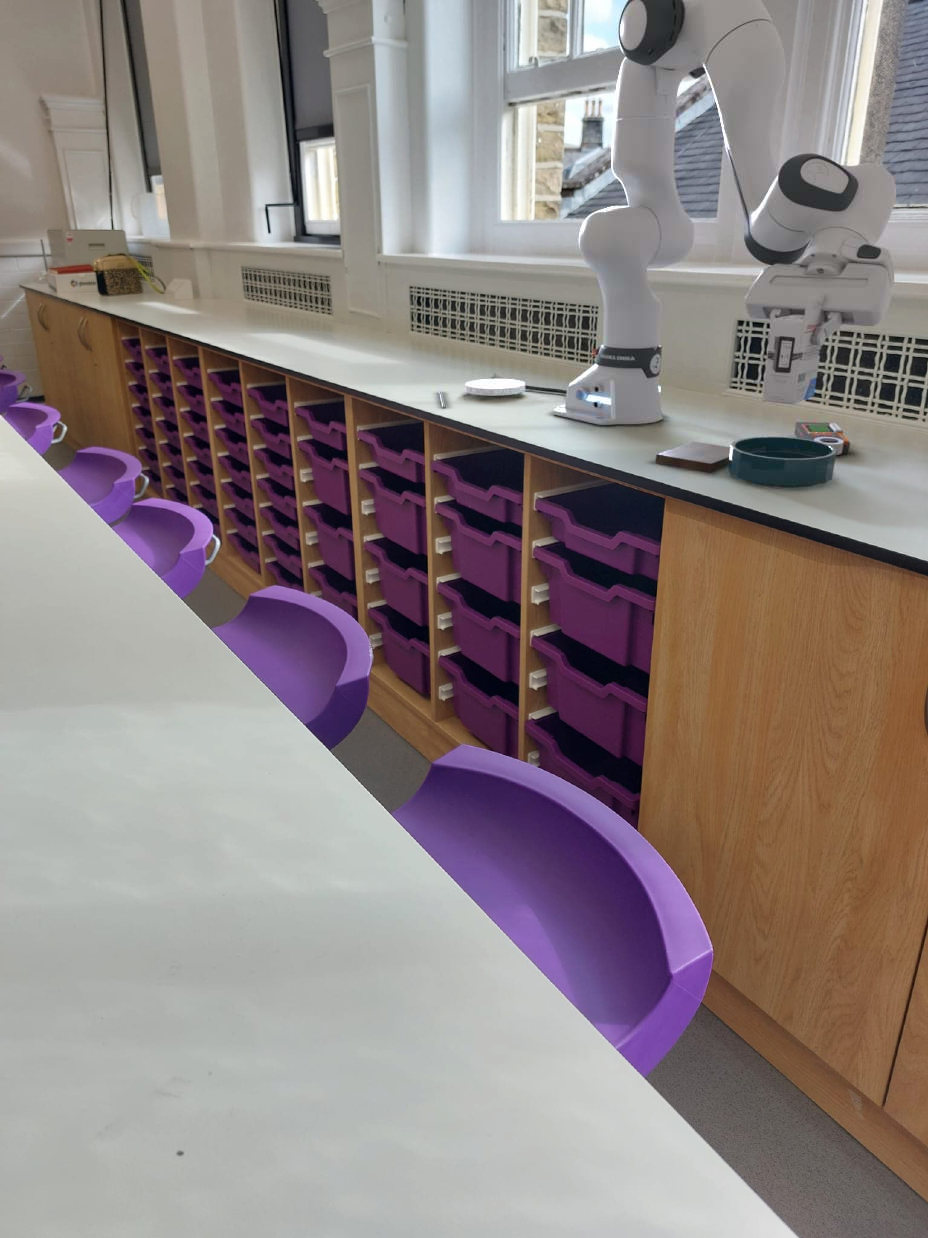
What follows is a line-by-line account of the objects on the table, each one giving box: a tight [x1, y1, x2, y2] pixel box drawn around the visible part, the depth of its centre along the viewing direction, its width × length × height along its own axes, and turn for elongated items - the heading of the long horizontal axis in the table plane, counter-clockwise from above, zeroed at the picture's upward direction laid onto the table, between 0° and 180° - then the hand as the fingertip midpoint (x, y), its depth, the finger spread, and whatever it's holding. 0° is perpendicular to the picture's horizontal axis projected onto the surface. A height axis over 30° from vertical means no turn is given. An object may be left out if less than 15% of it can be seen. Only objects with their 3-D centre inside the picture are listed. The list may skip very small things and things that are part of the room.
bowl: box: [727, 436, 837, 489], centre depth 135 cm, size 15×15×4 cm
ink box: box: [761, 294, 826, 405], centre depth 128 cm, size 8×5×15 cm, turn 140°
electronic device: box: [793, 421, 851, 456], centre depth 152 cm, size 7×3×15 cm
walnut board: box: [655, 441, 731, 474], centre depth 145 cm, size 10×12×2 cm
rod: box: [438, 391, 446, 409], centre depth 199 cm, size 1×19×1 cm, turn 4°
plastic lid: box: [464, 378, 526, 397], centre depth 204 cm, size 14×14×2 cm
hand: (794, 340), depth 127 cm, fingers closed on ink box, 5 cm apart
